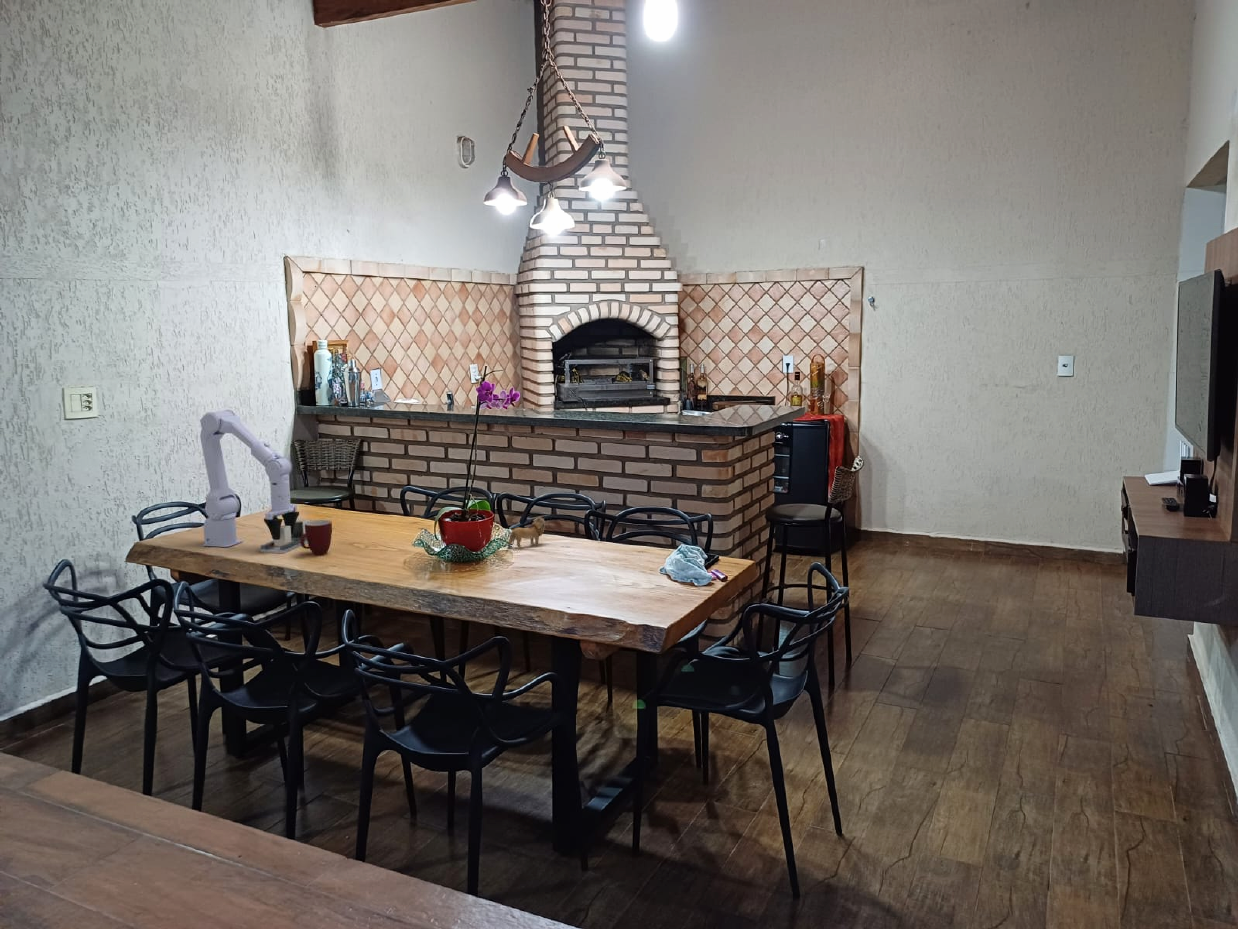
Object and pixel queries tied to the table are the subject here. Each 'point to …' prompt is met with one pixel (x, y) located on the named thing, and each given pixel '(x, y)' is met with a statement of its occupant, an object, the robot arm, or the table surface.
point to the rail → (295, 540)
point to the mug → (317, 536)
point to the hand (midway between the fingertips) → (283, 536)
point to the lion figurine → (528, 533)
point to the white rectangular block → (284, 536)
